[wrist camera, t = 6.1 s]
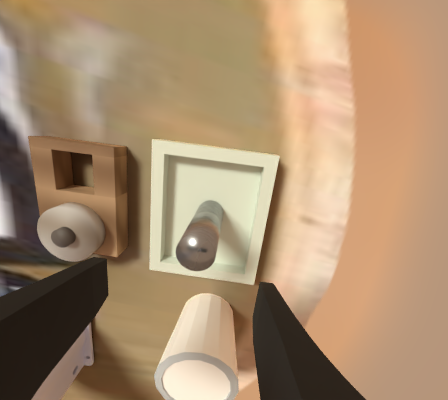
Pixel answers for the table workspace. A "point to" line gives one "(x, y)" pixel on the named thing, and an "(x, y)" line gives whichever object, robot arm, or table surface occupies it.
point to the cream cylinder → (200, 353)
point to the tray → (217, 191)
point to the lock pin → (201, 237)
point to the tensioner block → (80, 198)
